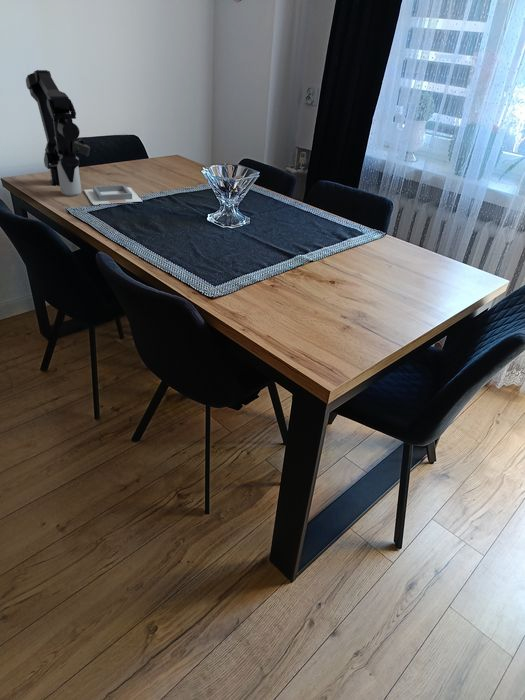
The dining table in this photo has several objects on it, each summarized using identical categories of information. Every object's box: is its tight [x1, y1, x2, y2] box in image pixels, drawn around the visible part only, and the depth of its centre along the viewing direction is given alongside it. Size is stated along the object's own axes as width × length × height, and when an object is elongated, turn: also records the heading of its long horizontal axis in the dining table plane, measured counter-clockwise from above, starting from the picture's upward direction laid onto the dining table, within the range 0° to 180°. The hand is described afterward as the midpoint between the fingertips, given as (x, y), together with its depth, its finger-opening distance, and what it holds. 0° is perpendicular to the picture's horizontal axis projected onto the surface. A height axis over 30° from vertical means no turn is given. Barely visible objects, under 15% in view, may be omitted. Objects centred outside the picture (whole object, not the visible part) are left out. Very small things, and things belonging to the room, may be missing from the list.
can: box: [57, 161, 82, 197], centre depth 186 cm, size 8×8×12 cm
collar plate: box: [83, 184, 143, 206], centre depth 189 cm, size 18×18×3 cm
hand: (69, 178), depth 186 cm, fingers open, 9 cm apart
